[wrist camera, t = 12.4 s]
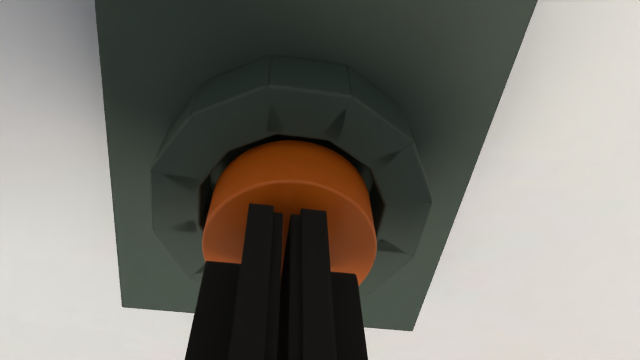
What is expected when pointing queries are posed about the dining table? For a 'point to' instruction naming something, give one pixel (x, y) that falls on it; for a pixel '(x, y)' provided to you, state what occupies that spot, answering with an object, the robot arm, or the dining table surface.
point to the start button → (293, 202)
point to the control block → (298, 122)
